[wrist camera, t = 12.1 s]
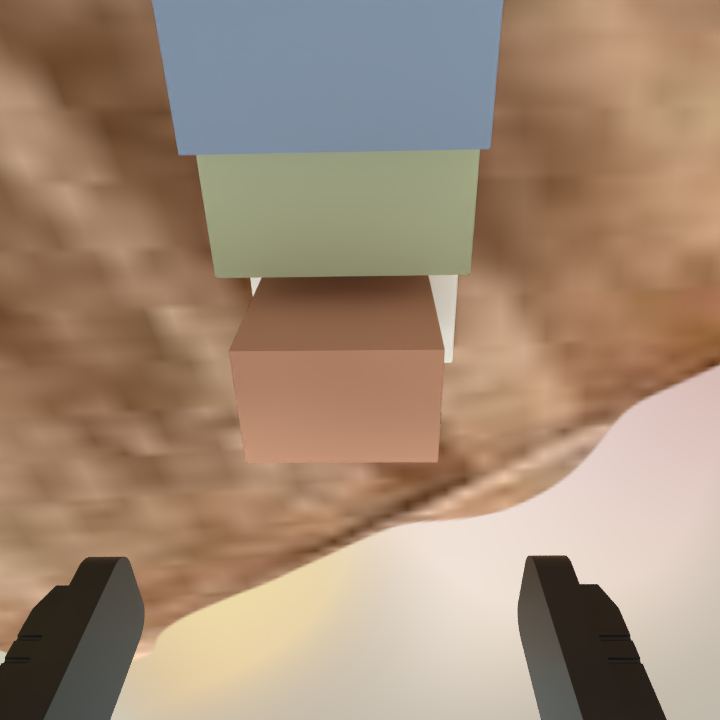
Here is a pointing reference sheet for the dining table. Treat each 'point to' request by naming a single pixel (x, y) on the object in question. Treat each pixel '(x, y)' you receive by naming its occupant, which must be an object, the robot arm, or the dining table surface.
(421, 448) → the terracotta block
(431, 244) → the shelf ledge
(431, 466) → the dining table surface
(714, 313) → the dining table surface
